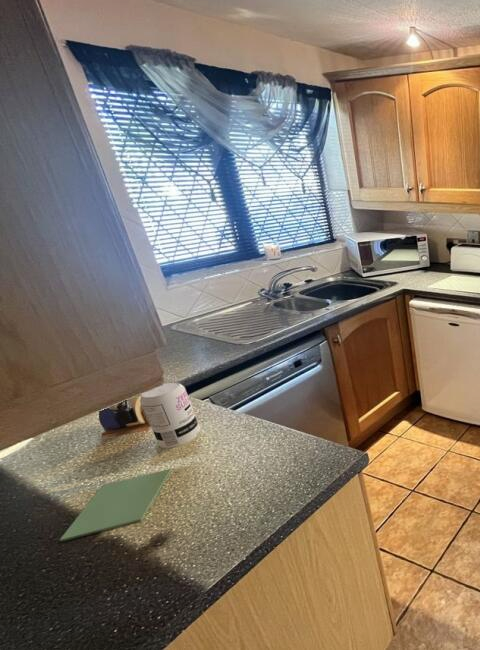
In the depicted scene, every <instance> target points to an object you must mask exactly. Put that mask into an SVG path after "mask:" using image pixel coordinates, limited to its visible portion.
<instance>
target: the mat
mask: <svg viewBox="0 0 480 650" xmlns="http://www.w3.org/2000/svg"><path fill="white" fill-rule="evenodd" d="M171 472H172V469H171V468H169V469H165V470H160V471H155V472H152V473H147V474H143V475H139V476H134V477H129V478H126V479H121V480H116V481H112V482H109V483H104V484H102V485H101V486H100V487H99V489H98V490H97V491H96V493H95V494H94V495H93V496H92V498H91V499H90V500H89V502H88V503H87V504H86V505H85V506H84V508H83V509H82V510H81V512H80V513H79V514H78V515H77V517H76V518H75V519H74V521H73V522H72V523H71V524H70V525H69V527H68V528H67V530H66V531H65V532H64V534H62V536H61V537H60V539H59V542H60V543H62V542H65V541H69V540H73V539H77V538H80V537H84V536H89V535H92V534H96V533H97V534H98V533H100V532H103V531H104V532H105V531H107V530H112V529H116V528H119V527H124V526H127V525H130V524H134V523H135V524H136V523H139V522H142V521H143V519H144V518H145V516H146V515H147V512H148V511H149V508H151V506H152V504H153V502H154V501H155V499H156V497H157V495H158V494H159V492H160V491H161V488H162V487H163V486H164V484H165V482H166V481H167V479H168V477H169V476H170V474H171Z"/></svg>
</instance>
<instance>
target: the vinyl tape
mask: <svg viewBox="0 0 480 650" xmlns="http://www.w3.org/2000/svg"><path fill="white" fill-rule="evenodd" d="M122 403H123V402H121V403H119V405H120V404H121V405H122ZM98 420H99V423H100V426H101V427H102V428H103V429H106V430H113V429H118V428H124V427H126V425H123V424H121V421H120V419H119V417H118V415H117V413H115V412H114V411H112V410H111V409H109V408H107V409H104V410H102V411H98Z"/></svg>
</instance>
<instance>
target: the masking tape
mask: <svg viewBox="0 0 480 650" xmlns="http://www.w3.org/2000/svg"><path fill="white" fill-rule="evenodd" d="M141 396H142V395H139V396H136V397H134V396H132V397H133V398H131V399H130V405H131V408H133V409H134V411H135V413H136V415H137V417H138V421H137V422H135V423H130V424H126V425H128V426H134V425H139V424H144V423H147V422H146V419H145V417H144V415H143V413H142V412H143V411H144V409H143V407H142V405H141V403H140V399H141ZM122 405H124V406H125V401H123V403H122Z"/></svg>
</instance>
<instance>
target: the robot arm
mask: <svg viewBox="0 0 480 650" xmlns="http://www.w3.org/2000/svg"><path fill="white" fill-rule="evenodd" d="M138 396H139V395H138ZM109 409H111V410H112V411H114V412H115V413H117V415H118V417H119V419H120V421H121V424H123V425H125V424H130V423H135V422H137V421H138V417H137V415H136V413H135V411H134V409H133V408H131V405H130V399H128V400H125V406H124V405H121V404H120V405H119V403H118V404H116V405H113V406H111V407H109Z"/></svg>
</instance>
